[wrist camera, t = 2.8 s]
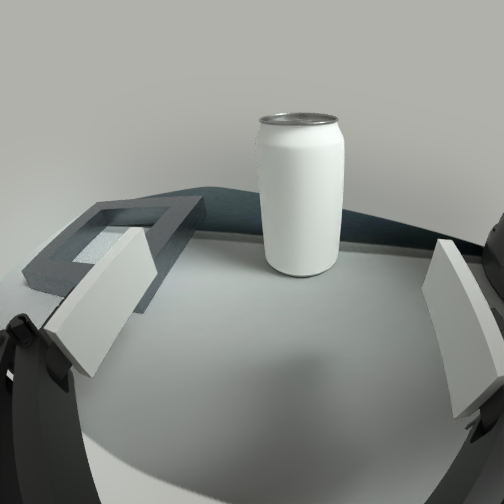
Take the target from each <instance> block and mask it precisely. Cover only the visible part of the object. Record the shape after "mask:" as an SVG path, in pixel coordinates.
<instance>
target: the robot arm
mask: <svg viewBox="0 0 504 504" xmlns="http://www.w3.org/2000/svg"><path fill="white" fill-rule="evenodd" d="M482 261H483V266H484V269H485V272H486V274H487V276H488V278H489V280H490V282H491V283H492V285H493V286H494V288H495V289H496V291H497V292H498V293H499V295H500V296H501V297H502V298H503V300H504V213H503V215H502V217H501V219H500V221H499V223H498V224H496V225H495V226H494V227H493V228H492V230H491V231H490V233H489V235H488V238H487V241H486V244H485V247H484V249H483V253H482ZM157 274H158V273H157V270H156V267H155V264H154V261H153V258H152V255H151V252H150V249H149V246H148V243H147V240H146V237H145V233H144V230H143V228H141V227H130V228H129V229H128V230H127V231H126V232H125V233H124V234H123V235H122V236H121V237H120V238H119V239H118V240H117V242H116V243H115V244H114V245H113V246H112V247H111V248H110V249H109V250H108V251H107V252H106V253H105V254H104V255H103V256H102V258H101V259H100V260H99V261H98V262H97V263H96V264H95V265H94V266H93V268H92V269H91V270H90V271H89V272H88V273H87V274H86V276H85V277H84V278H83V279H82V280H81V281H80V283H79V284H77V285H76V286H75V287H73V288H72V289H71V290H70V291H69V292H68V294H67V295H66V296H65V297H64V298H65V299H63V300H62V301H61V302H60V303H59V306H57V307H56V308H55V310H54V311H53V312H52V314H51V315H50V316H49V317H48V319H47V320H46V321H45V323H44V324H43V325H42V327H41V328H40V329H39V330H38V329H37V328H36V327H35V325H34V324H33V323H32V321H31V320H30V318H29V317H28V316H27V314H19V315H17V316H15V317H14V318H13V319H12V320H11V321H10V322H9V323H8V325H7V327H6V330H4V329H3V330H1V331H0V504H101V502H100V499H99V496H98V493H97V490H96V487H95V484H94V481H93V477H92V474H91V471H90V467H89V463H88V459H87V455H86V451H85V447H84V442H83V438H82V433H81V428H80V422H79V416H78V410H77V403H76V396H75V388H74V379H73V373H72V371H71V370H70V368H71V366H72V365H73V366H74V367H75V368H76V369H77V370H78V372H79V373H81V374H83V375H86V376H88V377H90V378H93V377H94V375H95V373H96V371H97V370H98V368H99V366H100V364H101V363H102V361H103V359H104V358H105V356H106V354H107V352H108V351H109V349H110V347H111V346H112V344H113V342H114V341H115V339H116V337H117V336H118V334H119V332H120V331H121V329H122V328H123V326H124V324H125V323H126V321H127V320H128V318H129V316H130V315H131V313H132V312H133V310H134V309H135V307H136V305H137V304H138V302H139V301H140V299H141V298H142V296H143V295H144V293H145V292H146V290H147V289H148V287H149V286H150V284H151V283H152V281H153V280H154V278H155V277H156V275H157ZM421 289H422V292H423V295H424V298H425V301H426V304H427V307H428V310H429V313H430V316H431V319H432V323H433V326H434V330H435V333H436V337H437V340H438V344H439V348H440V352H441V356H442V360H443V364H444V369H445V373H446V378H447V383H448V388H449V393H450V399H451V405H452V412H453V419H457V418H462V417H466V416H470V415H471V414H473V413H474V412H475V411H476V410H477V409H478V408H479V409H480V415H479V416H478V417H477V418H475V419H474V420H473V421H472V422H470V423H469V424H468V425H467V426H466V428H465V429H466V430H467V429H469V428H470V427H471V426H473V427H472V429H471V431H470V433H469V435H468V437H467V439H466V440H465V442H464V444H463V446H462V448H461V450H460V451H459V453H458V455H457V456H456V458H455V460H454V461H453V463H452V465H451V466H450V468H449V470H448V471H447V473H446V474H445V476H444V477H443V479H442V480H441V482H440V483H439V484H438V486H437V487H436V489H435V490H434V492H433V493H432V494H431V496H430V497H429V498H428V500H427V501H426V502H425V503H424V504H504V320H503V318H502V316H501V315H500V314H499V313H498V312H497V311H496V309H495V308H489V305H488V303H487V301H486V299H485V297H484V295H483V293H482V291H481V289H480V287H479V285H478V284H477V282H476V280H475V278H474V276H473V274H472V273H471V271H470V269H469V267H468V266H467V264H466V262H465V260H464V259H463V257H462V255H461V254H460V252H459V250H458V249H457V247H456V246H455V244H454V242H453V241H452V240H443V239H438V240H437V244H436V247H435V250H434V253H433V257H432V260H431V263H430V266H429V269H428V272H427V275H426V277H425V280H424V283H423V286H422V288H421ZM7 370H9V371H10V372H11V373H12V374H13V375H14V377H13V381H12V380H11V379H10V378H9V377H8V376H7V375H6V374H7Z"/></svg>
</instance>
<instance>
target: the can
mask: <svg viewBox="0 0 504 504" xmlns="http://www.w3.org/2000/svg"><path fill="white" fill-rule="evenodd" d="M259 121H260V122H261V125H260V129H259V131H258V134H257V137H256V143H255V144H256V156H257V168H258V180H259V192H260V203H261V214H262V226H263V237H264V248H265V256H266V259H267V261H268V263H269V264H270V265H271V266H272V267H274V268H275V269H276V270H278V271H279V272H281V273H283V274H286V275H289V276H295V277H309V276H315V275H318V274H321V273H323V272H324V271H326V270H327V269H329V268H330V267H331V266H332V265H333V264H334V263H335V262H336V260H337V256H338V249H339V240H340V229H341V217H342V202H343V182H344V138H343V136H342V133H341V131H340V129H339V127H338V124H337V121H338V118H337V117H335V116H332V115H327V114H319V113H283V114H274V115H268V116H264V117H262V118H260V119H259Z"/></svg>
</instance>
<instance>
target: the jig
mask: <svg viewBox="0 0 504 504" xmlns="http://www.w3.org/2000/svg"><path fill="white" fill-rule="evenodd" d="M206 215H207V214H206V208H205V203H204V198H203V196H181V197H161V198H145V199H130V200H118V201H106V202H97V203H96V204H95V205H93V206H92V207H91V208H90V209H89V210H87V211H86V212H85V213H83V214H82V215H81V216H80V217H79V218H77V219H76V220H75V221H74V222H73V223H72V224H70V225H69V226H68V227H67V228H66V229H65V230H64V231H62V232H61V233H60V234H59V235H58V236H57V237H56V238H55V239H54V240H53V241H52V242H50V243H49V244H48V245H47V246H46V247H45V248H44V249H43V250H42V251H41V252H40V253H39V254H38V255H37V256H36V257H35V258H34V259H33V260H32V261H31V262H30V263H29V264H28V265H27V266H26V267H25V268H24V269H23V270H22V273H23V275H24V277H25V278H26V280H27V282H28V284H29V285H30V287H31V289H35V290H39V291H42V292H46V293H50V294H54V295H58V296H62V297H65V296H66V295H67V294H68V292H69V291H70V290H71V289H72V288H73V287H75V286H76V285H77V284H79V283H80V281H81V280H82V279H83V278H84V277H85V276H86V274H87V273H88V272H89V271H90V270H91V269H92V268H93V266H94V265H95V264H87V263H77V262H71V261H72V260H73V259H74V258H75V257H76V256H77V255H78V254H79V253H80V252H81V251H82V250H83V249H84V248H85V247H86V246H87V245H88V244H89V243H90V242H91V241H92V240H93V239H94V238H95V237H96V236H97V235H98V234H99V233H100V232H101V231H102V230H103V229H104V228H105V227H106V226H125V225H153V226H152V228H151V229H150V230H149V231H148V232H147V233H146V234H145V237H146V240H147V243H148V246H149V249H150V252H151V255H152V258H153V261H154V264H155V267H156V270H157V273H158V274H157V275H156V277H155V278H154V280H153V281H152V283H151V284H150V286H149V287H148V289H147V290H146V292H145V293H144V295H143V296H142V298H141V299H140V301H139V302H138V304H137V305H136V307H135V309H134V310H133V312H137V313H144V311H145V309H146V308H147V306H148V304H149V303H150V301H151V300H152V298H153V296H154V295H155V293H156V291H157V290H158V288H159V287H160V285H161V283H162V282H163V280H164V279H165V277H166V275H167V274H168V272H169V271H170V269H171V268H172V266H173V264H174V263H175V261H176V260H177V258H178V257H179V255H180V254H181V252H182V251H183V249H184V248H185V246H186V245H187V243H188V241H189V240H190V238H191V237H192V236H193V234H194V233H195V231H196V230H197V228H198V227H199V225H200V224H201V222H202V221H203V219H204V218H205V216H206Z"/></svg>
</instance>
